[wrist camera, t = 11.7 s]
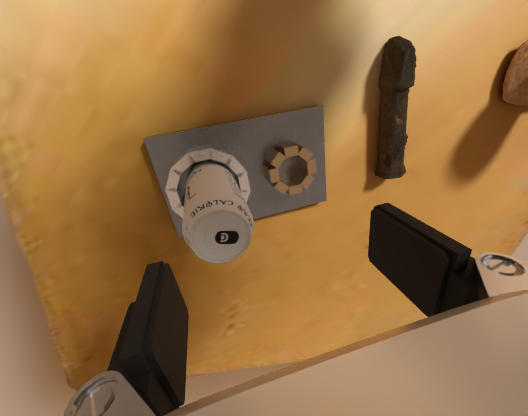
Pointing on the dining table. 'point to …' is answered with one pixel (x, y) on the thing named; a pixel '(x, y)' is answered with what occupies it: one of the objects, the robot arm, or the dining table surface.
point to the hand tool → (395, 105)
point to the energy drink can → (215, 214)
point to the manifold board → (248, 160)
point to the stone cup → (517, 78)
